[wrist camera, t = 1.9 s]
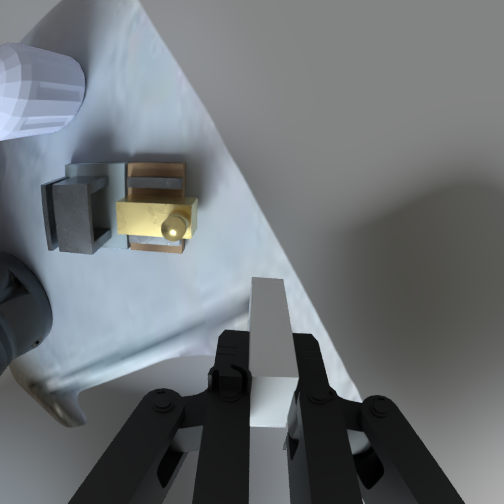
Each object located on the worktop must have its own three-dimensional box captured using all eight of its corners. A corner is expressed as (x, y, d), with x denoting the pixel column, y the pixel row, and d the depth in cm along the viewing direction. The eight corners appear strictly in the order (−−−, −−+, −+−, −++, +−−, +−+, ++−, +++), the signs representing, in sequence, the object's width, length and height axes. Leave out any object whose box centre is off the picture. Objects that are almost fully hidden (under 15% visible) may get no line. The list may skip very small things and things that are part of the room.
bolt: (129, 223, 29) (108, 242, 24) (128, 194, 28) (105, 208, 23) (196, 228, 29) (186, 248, 25) (197, 197, 28) (186, 212, 24)
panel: (76, 241, 32) (71, 244, 31) (70, 163, 28) (64, 165, 27) (184, 249, 32) (181, 253, 31) (185, 162, 29) (183, 164, 28)
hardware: (70, 234, 30) (48, 250, 26) (65, 176, 28) (40, 185, 23) (181, 242, 31) (170, 261, 26) (182, 176, 28) (170, 185, 24)
